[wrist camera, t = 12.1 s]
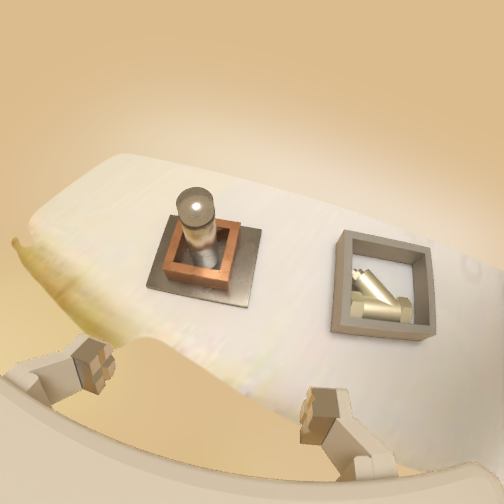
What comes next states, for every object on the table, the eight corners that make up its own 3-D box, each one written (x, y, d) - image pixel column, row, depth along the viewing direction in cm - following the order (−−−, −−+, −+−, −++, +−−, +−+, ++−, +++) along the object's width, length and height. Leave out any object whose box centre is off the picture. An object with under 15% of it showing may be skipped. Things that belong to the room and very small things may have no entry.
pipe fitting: (340, 275, 35) (339, 327, 32) (350, 260, 32) (351, 315, 28) (395, 283, 35) (398, 332, 31) (409, 269, 32) (414, 321, 28)
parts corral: (417, 259, 36) (430, 247, 33) (420, 340, 31) (436, 334, 28) (336, 243, 36) (344, 229, 33) (330, 331, 31) (340, 324, 28)
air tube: (221, 247, 35) (217, 189, 25) (215, 272, 33) (208, 220, 24) (195, 242, 35) (182, 184, 25) (188, 267, 33) (170, 214, 24)
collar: (261, 232, 37) (263, 216, 34) (247, 308, 32) (248, 298, 29) (171, 217, 37) (165, 201, 34) (147, 287, 33) (138, 276, 30)
